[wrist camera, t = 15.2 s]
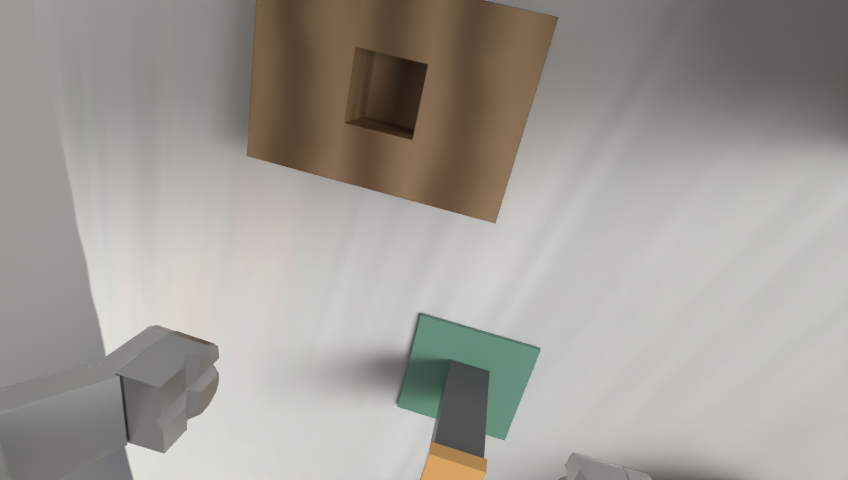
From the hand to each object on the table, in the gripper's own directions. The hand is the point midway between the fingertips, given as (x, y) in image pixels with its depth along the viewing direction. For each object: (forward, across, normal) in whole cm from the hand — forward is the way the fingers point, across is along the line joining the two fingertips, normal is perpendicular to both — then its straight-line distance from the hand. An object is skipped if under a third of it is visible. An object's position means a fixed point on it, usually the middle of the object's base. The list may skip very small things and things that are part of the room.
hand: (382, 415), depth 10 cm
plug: (+29, -4, +22) cm, 37 cm away
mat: (+29, -4, +22) cm, 37 cm away
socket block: (+30, +8, -4) cm, 31 cm away
